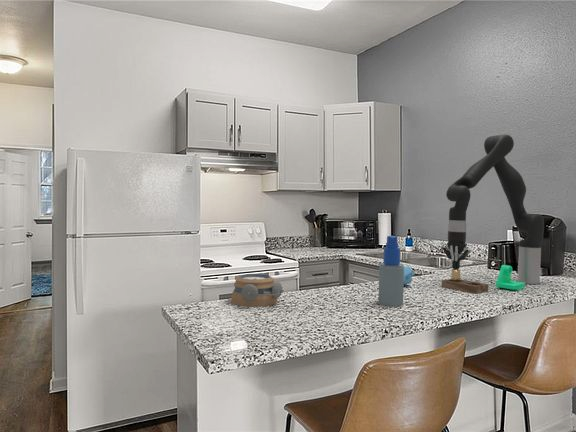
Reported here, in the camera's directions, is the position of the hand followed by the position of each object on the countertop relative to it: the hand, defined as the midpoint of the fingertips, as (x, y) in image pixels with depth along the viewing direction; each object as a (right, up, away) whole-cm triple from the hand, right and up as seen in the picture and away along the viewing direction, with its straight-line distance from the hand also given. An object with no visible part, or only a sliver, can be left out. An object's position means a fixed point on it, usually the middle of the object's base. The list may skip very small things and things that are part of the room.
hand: (455, 269), depth 187 cm
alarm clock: (-86, -8, -35) cm, 93 cm away
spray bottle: (-37, -9, -32) cm, 50 cm away
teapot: (-26, -8, +3) cm, 27 cm away
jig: (+3, -8, -3) cm, 9 cm away
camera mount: (+25, -9, 0) cm, 26 cm away
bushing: (0, -8, 0) cm, 8 cm away
